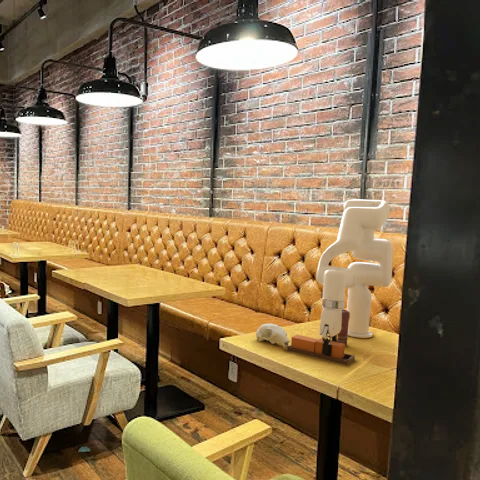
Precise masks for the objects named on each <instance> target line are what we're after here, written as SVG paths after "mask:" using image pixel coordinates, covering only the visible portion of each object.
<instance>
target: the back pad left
mask: <svg viewBox="0 0 480 480" xmlns="http://www.w3.org/2000/svg"><path fill="white" fill-rule="evenodd" d="M319 339H320V338H315V337H310V336H307V335H306V336H305V335H301V334H295V335H293V336H291V341H290V345H291V347H293V348H297V349H301V350H306V351H310V352H314V353H315V344H316V341H317V340H319Z"/></svg>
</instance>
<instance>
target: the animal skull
mask: <svg viewBox="0 0 480 480" xmlns="http://www.w3.org/2000/svg"><path fill="white" fill-rule="evenodd" d="M255 337H256V340H257V341H259V342H264V341H265V340H266V342H268V341H269V343H271V344H272V345H274V344H276V343H277V344H279V345H281V346H282V347H283V349H284V350H287V347H288V346H289V344H290V343H291V341H290V339H289V338H288V334H287V331H286V330H285V329H284V328H283V327H282V326H279V324H275V323H270V322H269V323H264V324H263V323H262V324H261V325H260V326H259V327H258V329H256V330H255Z"/></svg>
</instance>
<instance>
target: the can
mask: <svg viewBox="0 0 480 480" xmlns="http://www.w3.org/2000/svg"><path fill="white" fill-rule="evenodd" d="M349 319H350V312H349V311H347V309H344V310H342V325H341V331H340V333H338V342H339V343H344V344H345V347H346V346H347V345H348V337H349V336H348V324H349Z"/></svg>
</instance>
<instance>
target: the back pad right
mask: <svg viewBox="0 0 480 480" xmlns="http://www.w3.org/2000/svg"><path fill="white" fill-rule="evenodd" d="M318 339H319V340H317V341H316V344H315V353H318V354H322V346H323V343H322V342H323V340H322V338H318ZM331 345H332V353H331V357H335V358H339V359H342V358H343V357H344V353H345V351H346V346H345V344H344V343H339V342H335V341H331ZM322 355H324V354H322ZM326 356H328V355H326Z"/></svg>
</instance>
